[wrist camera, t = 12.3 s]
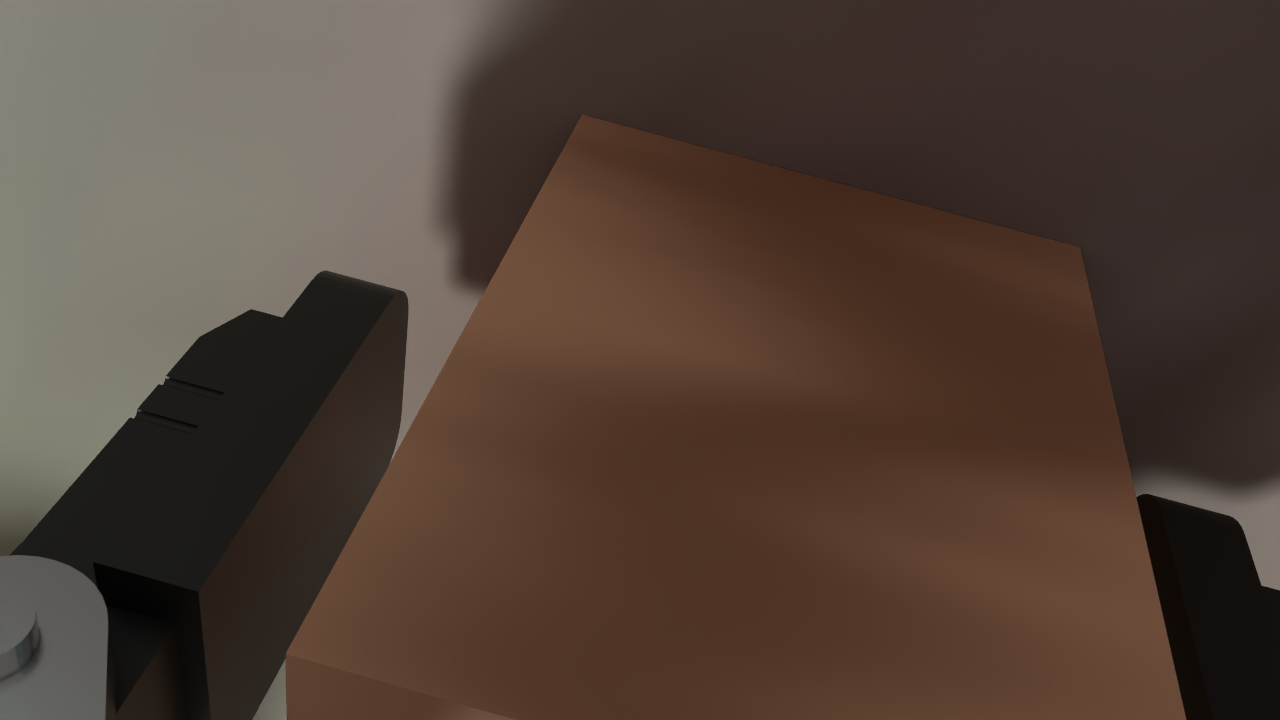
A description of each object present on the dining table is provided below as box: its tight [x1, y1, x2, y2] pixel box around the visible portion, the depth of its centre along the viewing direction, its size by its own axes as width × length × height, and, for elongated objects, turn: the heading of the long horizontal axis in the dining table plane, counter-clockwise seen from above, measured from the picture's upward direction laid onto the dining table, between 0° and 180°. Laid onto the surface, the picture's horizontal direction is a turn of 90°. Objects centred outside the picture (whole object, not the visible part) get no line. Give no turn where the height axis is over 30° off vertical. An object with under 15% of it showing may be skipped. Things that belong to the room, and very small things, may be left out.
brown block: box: [286, 115, 1186, 720], centre depth 9 cm, size 4×4×6 cm
